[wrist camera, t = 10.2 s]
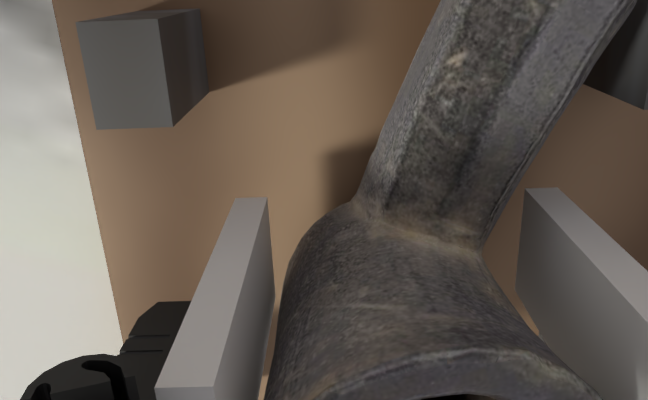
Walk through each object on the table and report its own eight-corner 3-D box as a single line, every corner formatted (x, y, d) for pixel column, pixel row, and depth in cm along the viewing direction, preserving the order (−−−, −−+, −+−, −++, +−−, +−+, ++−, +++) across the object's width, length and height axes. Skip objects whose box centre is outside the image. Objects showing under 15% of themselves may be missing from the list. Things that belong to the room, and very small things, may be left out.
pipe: (600, -3, 13) (1020, 44, 6) (391, 400, 18) (491, 711, 10) (369, -109, 12) (560, -217, 5) (201, 359, 16) (162, 691, 9)
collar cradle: (161, 465, 20) (117, 593, 16) (31, -198, 13) (-116, -282, 8) (611, 455, 20) (687, 584, 16) (749, -234, 12) (966, -342, 8)
